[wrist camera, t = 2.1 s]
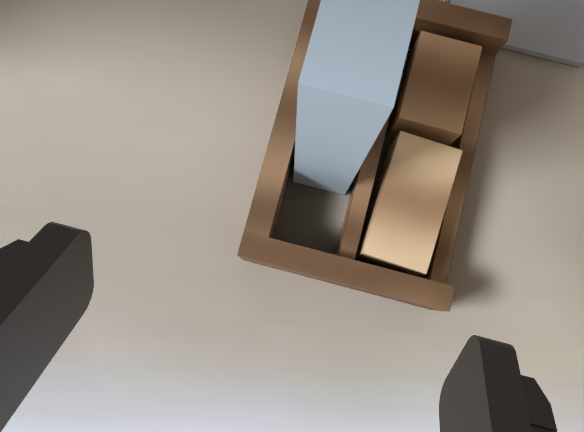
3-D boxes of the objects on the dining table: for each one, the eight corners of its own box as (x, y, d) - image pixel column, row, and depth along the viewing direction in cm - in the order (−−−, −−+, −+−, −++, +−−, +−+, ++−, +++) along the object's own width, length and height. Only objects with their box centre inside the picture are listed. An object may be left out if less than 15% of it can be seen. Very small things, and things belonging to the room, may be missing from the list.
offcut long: (411, 276, 35) (426, 274, 32) (354, 257, 36) (362, 252, 32) (443, 166, 37) (462, 150, 33) (388, 148, 37) (400, 130, 33)
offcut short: (442, 151, 37) (461, 134, 33) (387, 136, 37) (399, 117, 33) (462, 72, 38) (482, 46, 34) (407, 58, 38) (421, 30, 34)
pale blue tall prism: (344, 195, 36) (393, 107, 19) (293, 181, 36) (298, 83, 19) (368, 100, 37) (435, -62, 20) (318, 87, 37) (344, -84, 20)
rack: (431, 309, 35) (449, 311, 31) (243, 259, 35) (237, 255, 31) (489, 48, 38) (512, 19, 34) (313, 4, 38) (316, -30, 34)
